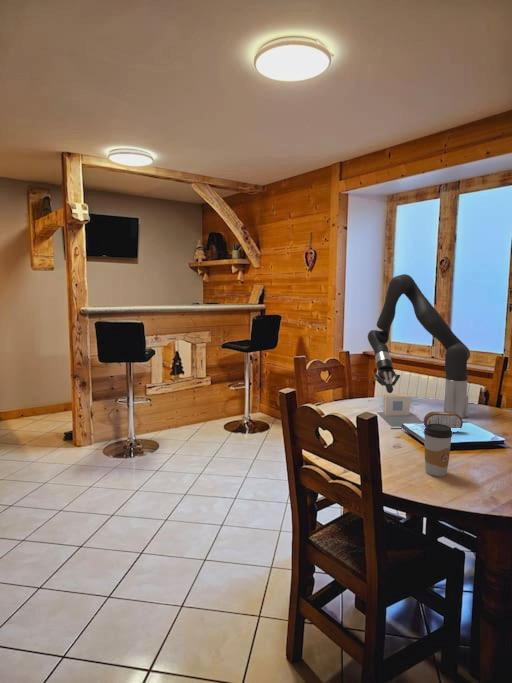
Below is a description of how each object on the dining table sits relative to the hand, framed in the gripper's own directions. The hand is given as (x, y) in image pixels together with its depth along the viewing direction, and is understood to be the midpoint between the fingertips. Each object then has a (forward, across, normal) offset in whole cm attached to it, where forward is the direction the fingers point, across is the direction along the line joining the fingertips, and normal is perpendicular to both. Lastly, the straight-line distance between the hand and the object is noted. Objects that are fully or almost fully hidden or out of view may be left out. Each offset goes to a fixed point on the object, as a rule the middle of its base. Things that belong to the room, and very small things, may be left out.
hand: (390, 392), depth 212 cm
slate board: (+18, 0, -5) cm, 19 cm away
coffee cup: (+58, -8, -44) cm, 73 cm away
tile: (+12, 0, -1) cm, 12 cm away
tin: (+29, +12, -15) cm, 35 cm away
